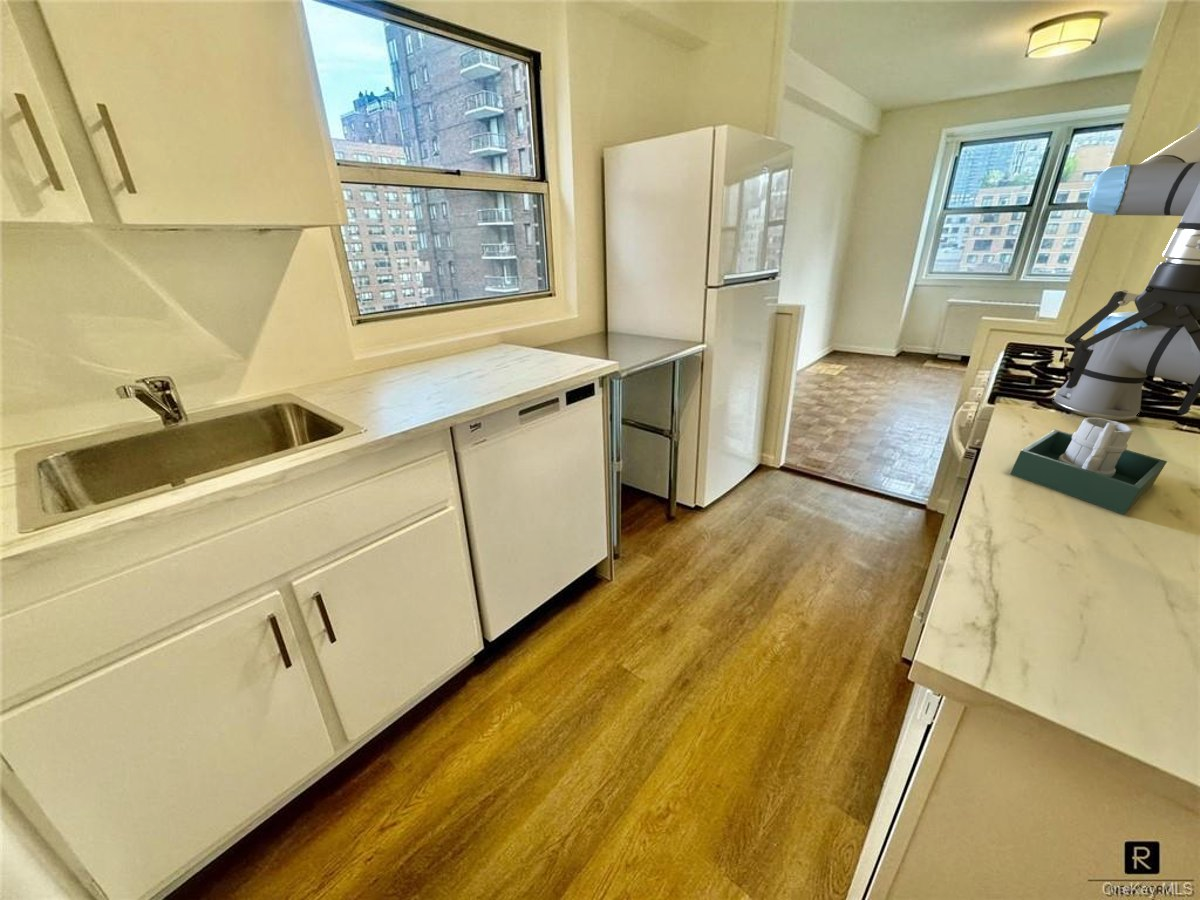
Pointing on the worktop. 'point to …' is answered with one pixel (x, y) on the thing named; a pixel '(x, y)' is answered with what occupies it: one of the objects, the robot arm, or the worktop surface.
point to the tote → (1087, 474)
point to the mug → (1097, 445)
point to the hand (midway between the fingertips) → (1122, 398)
